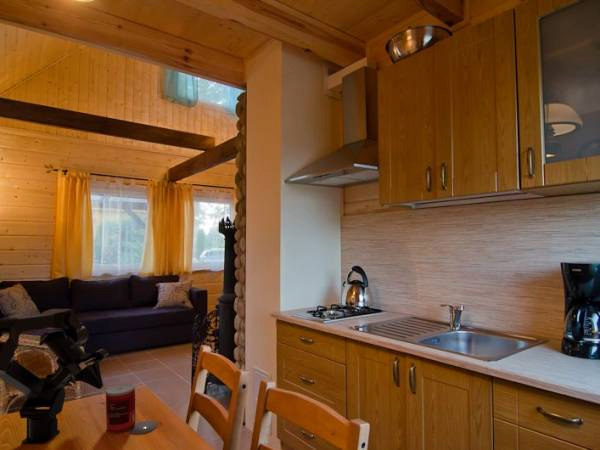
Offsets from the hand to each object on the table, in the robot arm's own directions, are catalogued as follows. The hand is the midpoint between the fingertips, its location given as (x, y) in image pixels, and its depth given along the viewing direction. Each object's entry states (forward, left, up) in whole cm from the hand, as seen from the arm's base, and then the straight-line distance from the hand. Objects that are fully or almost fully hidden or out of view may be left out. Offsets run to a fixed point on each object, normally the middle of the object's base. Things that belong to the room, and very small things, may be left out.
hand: (101, 387), depth 111 cm
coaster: (+13, 0, -11) cm, 17 cm away
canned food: (+6, 0, -11) cm, 13 cm away
